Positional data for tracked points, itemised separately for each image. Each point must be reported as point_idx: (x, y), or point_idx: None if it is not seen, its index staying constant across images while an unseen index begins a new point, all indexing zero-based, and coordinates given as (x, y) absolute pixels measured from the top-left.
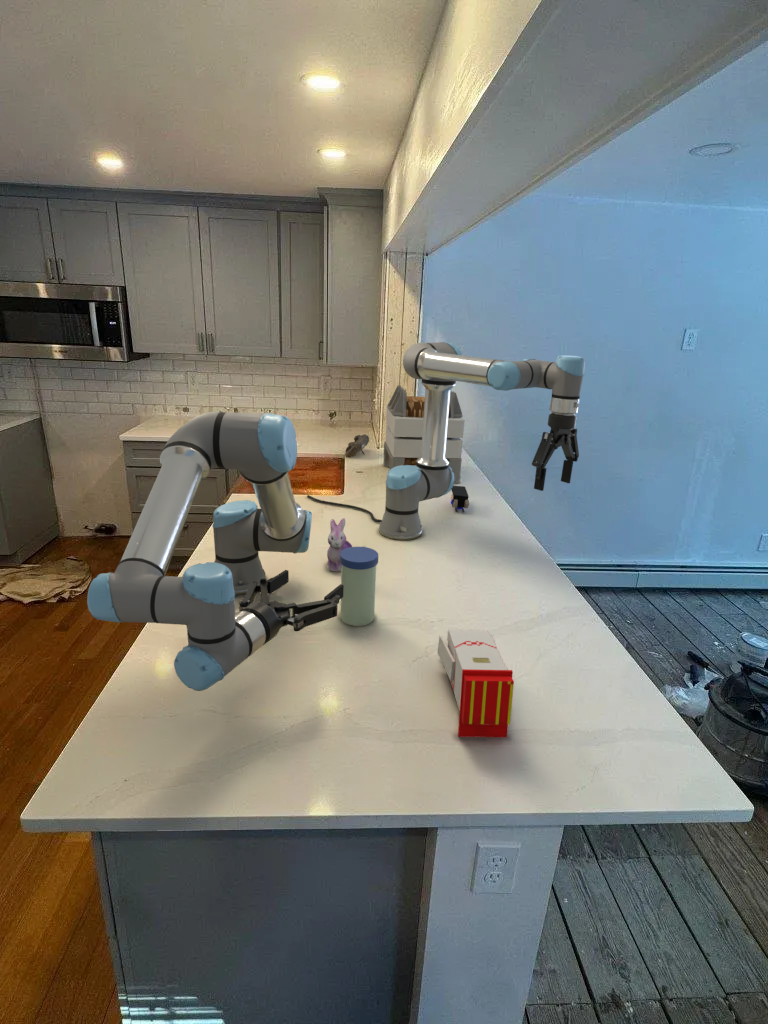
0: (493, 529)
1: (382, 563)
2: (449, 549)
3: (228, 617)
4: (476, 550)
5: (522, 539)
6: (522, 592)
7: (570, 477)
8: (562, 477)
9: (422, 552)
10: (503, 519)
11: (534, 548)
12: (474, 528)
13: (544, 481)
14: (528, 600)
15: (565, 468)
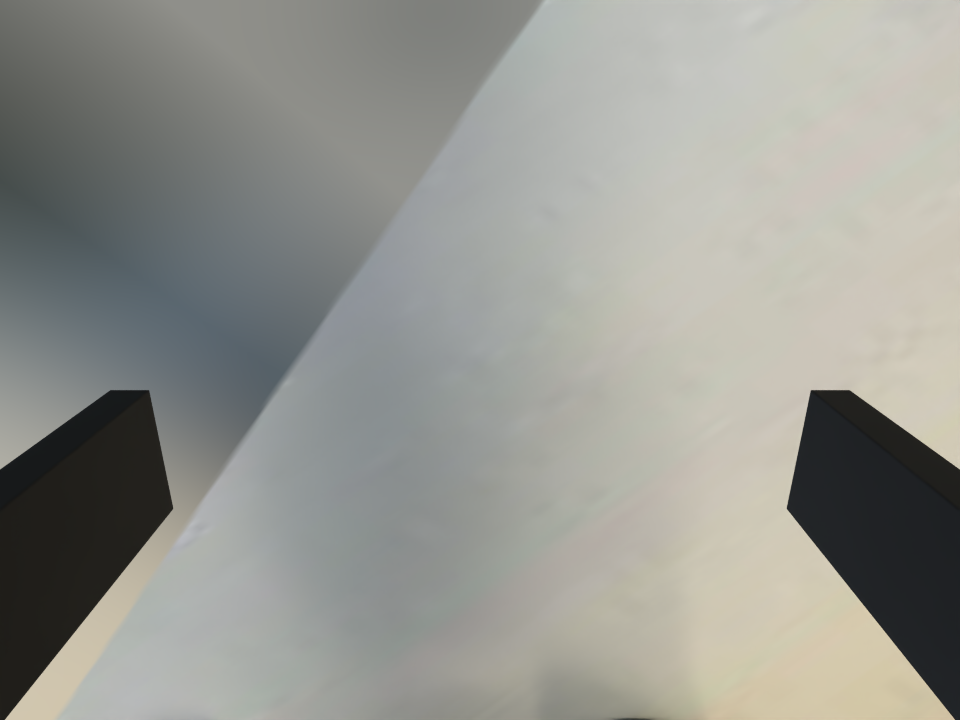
0: (267, 629)
1: None
2: (606, 596)
3: None
4: (520, 534)
5: (233, 499)
6: (736, 146)
7: (65, 430)
8: (140, 527)
9: (717, 631)
10: (132, 672)
11: (266, 408)
12: (335, 673)
13: (902, 460)
14: (790, 74)
15: (25, 621)
